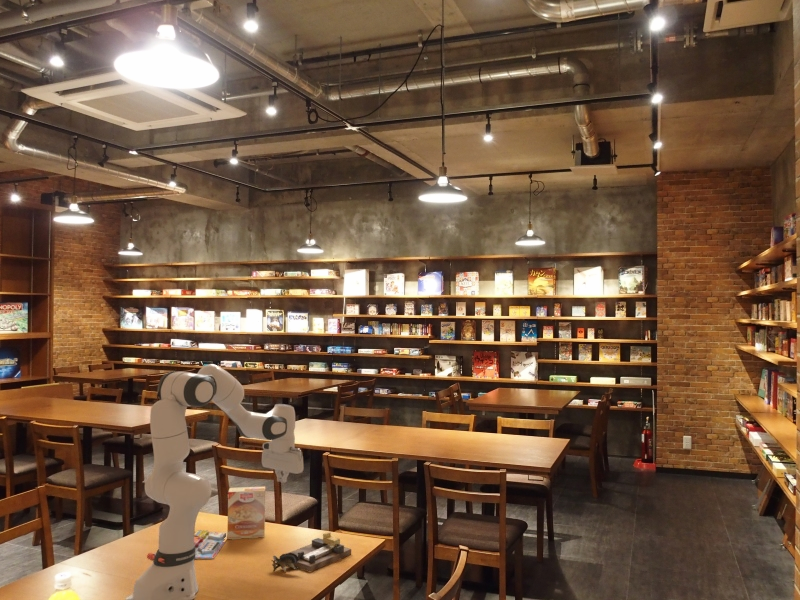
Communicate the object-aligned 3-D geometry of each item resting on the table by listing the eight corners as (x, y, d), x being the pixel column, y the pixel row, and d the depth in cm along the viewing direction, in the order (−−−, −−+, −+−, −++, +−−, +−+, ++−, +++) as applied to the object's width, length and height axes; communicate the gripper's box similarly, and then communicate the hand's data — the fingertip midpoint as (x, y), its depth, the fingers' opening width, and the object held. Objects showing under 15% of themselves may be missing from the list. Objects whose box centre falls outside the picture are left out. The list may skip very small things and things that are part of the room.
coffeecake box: (227, 540, 255) (227, 491, 256) (228, 534, 262) (229, 487, 263) (264, 538, 258) (265, 490, 259) (264, 532, 265) (265, 485, 266)
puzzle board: (213, 561, 234) (213, 554, 234) (151, 561, 233) (151, 554, 234) (232, 534, 265) (232, 527, 265) (177, 534, 264) (177, 528, 264)
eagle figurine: (276, 574, 218) (301, 565, 221) (271, 553, 221) (295, 545, 225) (274, 579, 224) (298, 570, 227) (269, 559, 227) (293, 551, 231)
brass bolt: (334, 546, 236) (334, 536, 237) (322, 542, 240) (323, 533, 240) (339, 543, 239) (340, 534, 239) (328, 540, 242) (328, 531, 243)
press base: (310, 572, 223) (310, 559, 223) (279, 561, 232) (279, 549, 233) (351, 554, 241) (351, 542, 241) (320, 545, 250) (321, 534, 250)
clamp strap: (309, 562, 227) (309, 558, 227) (301, 559, 229) (301, 556, 229) (338, 548, 239) (338, 545, 239) (330, 546, 242) (330, 543, 242)
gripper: (307, 448, 240) (306, 484, 239) (271, 441, 252) (270, 476, 251) (295, 450, 235) (294, 487, 234) (259, 443, 247) (258, 479, 246)
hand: (281, 481), depth 243 cm, fingers closed
